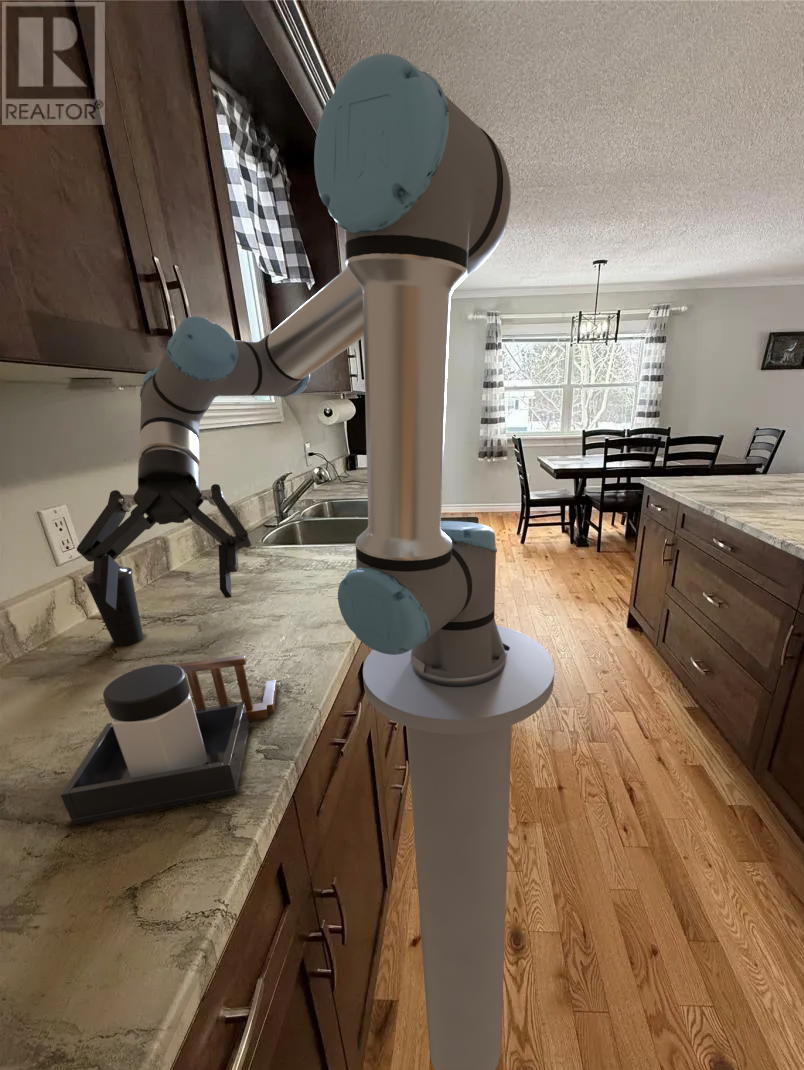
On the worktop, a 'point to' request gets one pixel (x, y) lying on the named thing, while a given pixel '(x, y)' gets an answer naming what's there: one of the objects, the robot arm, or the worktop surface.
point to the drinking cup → (120, 609)
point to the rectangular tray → (114, 793)
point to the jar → (155, 720)
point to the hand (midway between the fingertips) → (168, 600)
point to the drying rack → (215, 666)
